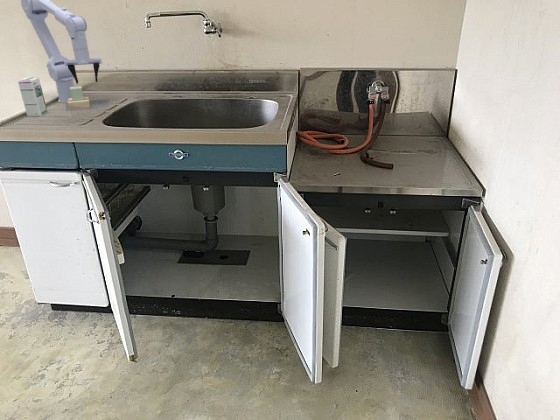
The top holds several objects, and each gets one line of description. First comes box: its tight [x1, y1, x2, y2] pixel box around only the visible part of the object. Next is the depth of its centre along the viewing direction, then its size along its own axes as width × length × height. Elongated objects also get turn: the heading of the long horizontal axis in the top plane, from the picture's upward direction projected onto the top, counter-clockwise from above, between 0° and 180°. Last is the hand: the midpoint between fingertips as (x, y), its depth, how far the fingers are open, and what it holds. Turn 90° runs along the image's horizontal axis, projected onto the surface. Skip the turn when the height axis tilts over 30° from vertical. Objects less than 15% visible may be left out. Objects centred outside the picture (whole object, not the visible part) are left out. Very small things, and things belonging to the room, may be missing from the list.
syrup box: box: [17, 76, 48, 117], centre depth 186 cm, size 6×6×14 cm
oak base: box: [67, 96, 91, 111], centre depth 197 cm, size 8×8×3 cm
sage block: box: [70, 85, 85, 101], centre depth 195 cm, size 4×4×5 cm
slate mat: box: [65, 99, 110, 112], centre depth 200 cm, size 14×17×1 cm
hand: (87, 82), depth 200 cm, fingers open, 7 cm apart
